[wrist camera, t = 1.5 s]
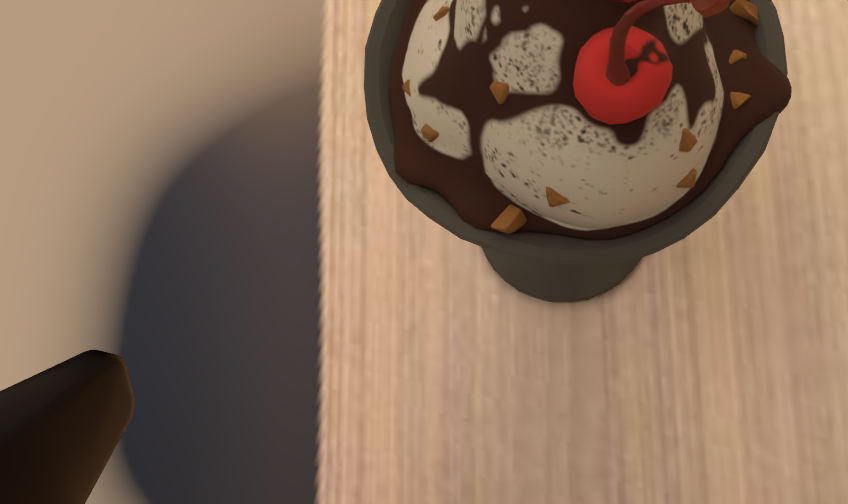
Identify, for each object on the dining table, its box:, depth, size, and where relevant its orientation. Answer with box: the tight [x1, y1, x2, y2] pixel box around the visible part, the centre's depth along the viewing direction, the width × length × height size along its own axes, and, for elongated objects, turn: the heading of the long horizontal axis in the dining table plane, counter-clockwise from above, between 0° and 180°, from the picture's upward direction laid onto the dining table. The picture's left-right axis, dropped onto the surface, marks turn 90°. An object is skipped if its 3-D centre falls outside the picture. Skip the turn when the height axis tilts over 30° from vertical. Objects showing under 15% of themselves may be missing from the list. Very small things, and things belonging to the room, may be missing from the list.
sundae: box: [364, 0, 791, 302], centre depth 15 cm, size 7×7×15 cm
